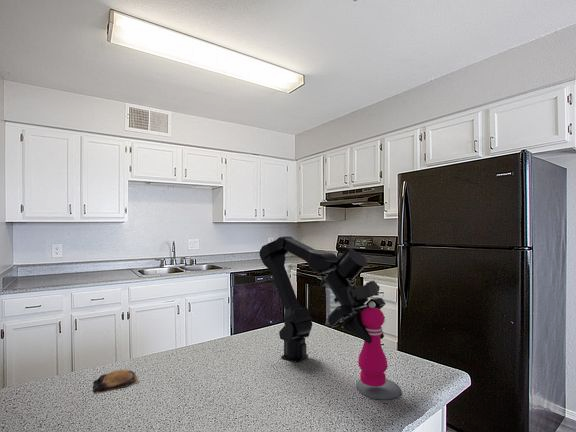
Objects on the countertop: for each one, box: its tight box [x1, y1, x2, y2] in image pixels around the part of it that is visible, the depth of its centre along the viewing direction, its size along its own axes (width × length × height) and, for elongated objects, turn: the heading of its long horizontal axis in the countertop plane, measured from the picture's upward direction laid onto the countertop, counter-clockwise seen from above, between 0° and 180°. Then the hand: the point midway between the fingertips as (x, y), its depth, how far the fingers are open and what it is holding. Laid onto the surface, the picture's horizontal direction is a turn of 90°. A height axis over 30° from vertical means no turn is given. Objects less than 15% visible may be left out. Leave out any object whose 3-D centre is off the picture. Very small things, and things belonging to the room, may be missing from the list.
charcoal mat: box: [356, 378, 401, 401], centre depth 84 cm, size 11×11×1 cm
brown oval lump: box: [92, 368, 140, 394], centre depth 87 cm, size 11×8×4 cm
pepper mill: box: [357, 301, 388, 386], centre depth 83 cm, size 7×7×20 cm
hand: (376, 340), depth 82 cm, fingers closed on pepper mill, 5 cm apart
